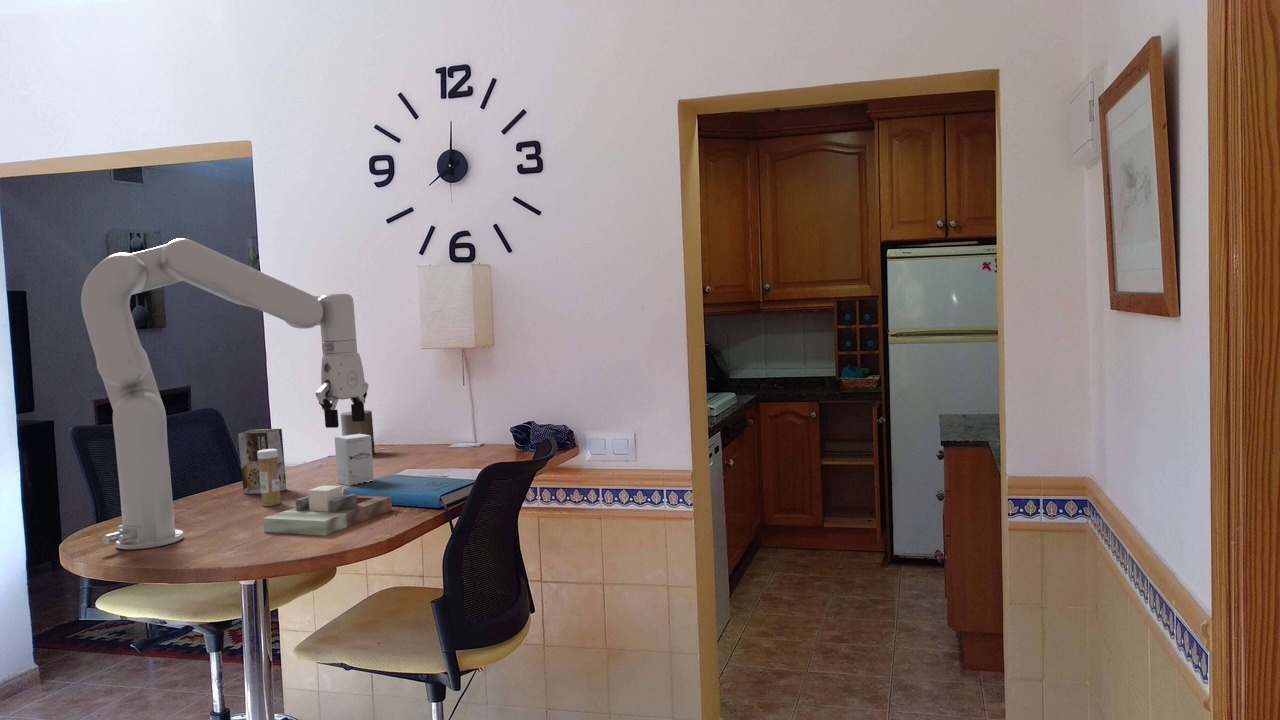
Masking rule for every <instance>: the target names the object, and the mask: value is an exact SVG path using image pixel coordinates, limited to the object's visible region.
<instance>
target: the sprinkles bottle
mask: <svg viewBox="0 0 1280 720" xmlns="http://www.w3.org/2000/svg"><path fill="white" fill-rule="evenodd" d="M257 455H258V461H259V470H260V471H259V474H260V486H261V494H260V495H261V505H262V506H263V507H274V506H278V505H280V504H281V503H282V499H281V491H280V483H279V472H278V463H277V457H278V452H277V449H264V450H259V451H258V452H257Z"/></svg>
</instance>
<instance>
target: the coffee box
mask: <svg viewBox="0 0 1280 720" xmlns="http://www.w3.org/2000/svg"><path fill="white" fill-rule="evenodd" d="M237 437H238V447H239V459H240V467H241V469H240V470H241V480H242V490H243V491H242V492H243V494H244V495H247V494H250V495H251V494H255V495H256V494H258V495H262V494H261V486H260V474H259V471H260V470H259V461H258V455H257V452H258V451H259V450H264V449H277V452H278V457H277V463H278V472H279V483H280V492H281V491H284V490H287V480H286V479H287V477H286V466H285V453H284V440H283V429H282V428H262V429H261V428H259V429H258V428H257V429H256V428H254V429H248V430H246V431H245V430H244V431H242V432H238V433H237Z"/></svg>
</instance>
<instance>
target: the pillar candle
mask: <svg viewBox="0 0 1280 720" xmlns="http://www.w3.org/2000/svg"><path fill="white" fill-rule="evenodd" d="M364 413H365V421H352V412H351V411H345V412H343V413H342V412H341V413H340V415H339V416H340V422H341V423H340V424H341V425H340V426H341V436H346V435H354V434H365V435H370V436H371V443H372V455H375V454H376V451H375V439H374V426H373V412H372V410H369V409H368V410H367V409H364Z"/></svg>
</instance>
